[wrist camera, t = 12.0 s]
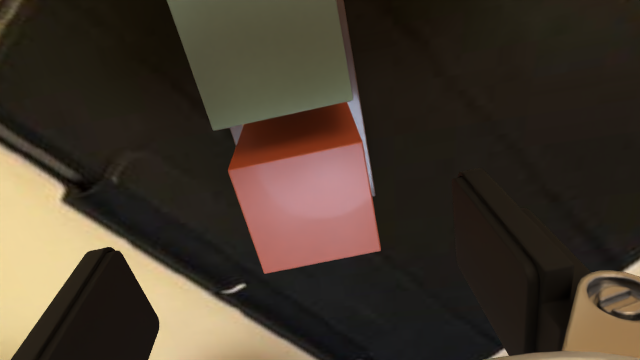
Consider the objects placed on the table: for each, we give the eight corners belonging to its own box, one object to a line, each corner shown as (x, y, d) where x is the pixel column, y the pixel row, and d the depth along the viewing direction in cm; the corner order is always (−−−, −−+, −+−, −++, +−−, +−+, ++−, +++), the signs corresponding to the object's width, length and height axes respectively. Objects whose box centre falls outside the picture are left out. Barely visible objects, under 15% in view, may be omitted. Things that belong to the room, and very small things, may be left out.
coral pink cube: (243, 124, 17) (227, 169, 13) (347, 101, 16) (362, 141, 13) (270, 211, 19) (263, 274, 15) (363, 192, 19) (381, 251, 15)
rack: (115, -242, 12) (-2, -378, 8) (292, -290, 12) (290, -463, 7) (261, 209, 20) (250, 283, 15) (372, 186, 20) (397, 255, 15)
